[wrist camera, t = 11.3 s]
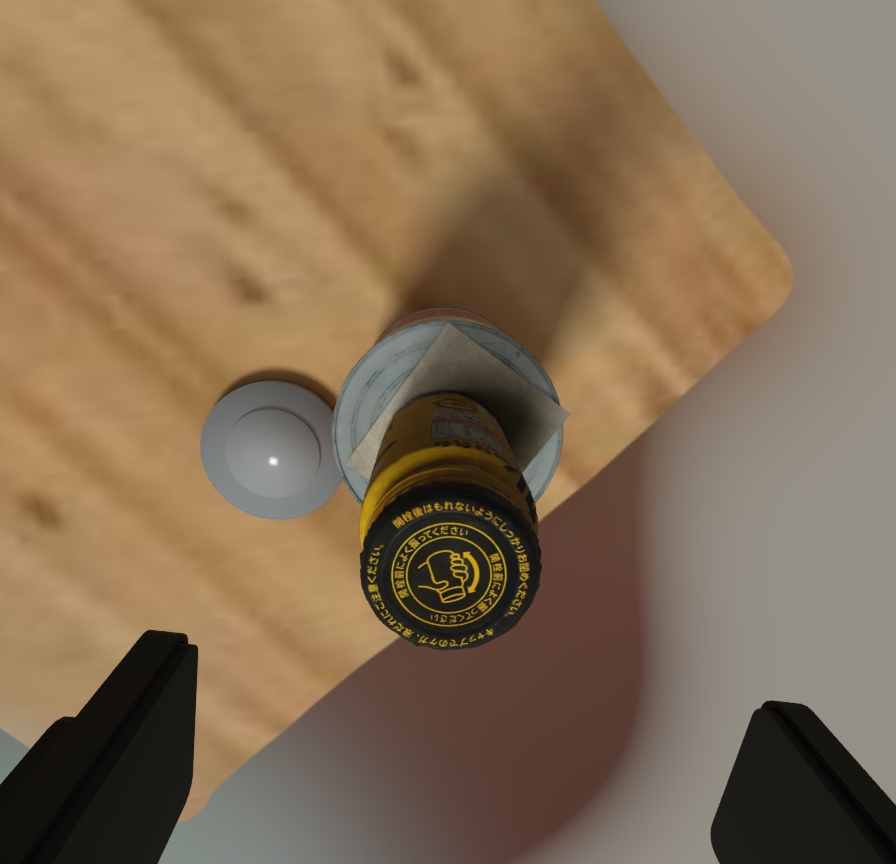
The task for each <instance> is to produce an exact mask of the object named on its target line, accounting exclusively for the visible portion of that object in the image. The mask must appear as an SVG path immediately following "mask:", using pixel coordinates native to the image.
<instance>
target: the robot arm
mask: <svg viewBox="0 0 896 864" xmlns="http://www.w3.org/2000/svg"><path fill="white" fill-rule="evenodd" d="M197 667H198V647H197V645H192V644H188V638H187V635H186V634H183V633H174V632H165V631H157V630H148V631H146V632H145V633H144V634H143V635H142V636H141V637H140V638H139V639H138V641H137V642H136V643H135V644H134V646H133V647H132V648H131V649H130V651H129V652H128V653H127V654H126V656H125V657H124V658H123V659H122V660H121V662H120V663H119V664H118V665H117V667H116V668H115V669H114V670H113V672H112V673H111V674H110V675H109V677H108V678H107V679H106V680H105V682H104V683H103V684H102V685H101V686H100V688H99V689H98V690H97V691H96V693H95V694H94V695H93V696H92V698H91V699H90V700H89V701H88V703H87V704H86V705H85V706H84V707H83V709H82V710H81V711H80V712H79V714H78V715H77V716H76V717H65V716H64V717H62V718H61V719H59V720H57V721H56V722H54V723H53V724H52V725H51V726H50V727H49V728H48V729H47V730H46V732H45V733H44V734H43V735H42V736H41V737H40V739H39V740H38V741H37V742H36V743H35V744H34V746H33V747H32V748H31V749H30V750H29V752H28V753H27V754H26V755H25V756H24V758H23V759H22V760H21V761H20V762H19V763H18V765H17V766H16V767H15V768H14V769H13V770H12V772H11V773H10V774H9V775H8V776H7V777H6V779H5V780H4V781H3V782H2V783H1V784H0V864H158V862H159V859H160V857H161V855H162V853H163V851H164V849H165V847H166V844H167V842H168V840H169V838H170V836H171V833H172V831H173V829H174V827H175V825H176V823H177V821H178V819H179V817H180V814H181V812H182V810H183V808H184V806H185V803H186V801H187V798H188V795H189V792H190V788H191V784H192V778H193V759H194V736H195V713H196V690H197ZM711 843H712V847H713V850H714V852H715V855H716V857H717V859H718V861H719V863H720V864H896V805H895V804H894V803H893V802H892V801H891V799H890V798H889V797H888V796H887V795H886V794H885V793H884V791H882V789H881V788H880V787H879V786H878V785H877V784H876V782H875V781H874V780H873V779H872V778H871V777H870V776H869V775H868V773H867V772H866V771H865V770H864V769H863V768H862V767H861V765H860V764H859V763H858V762H857V761H856V760H855V759H854V758H853V756H852V755H851V754H850V753H849V752H848V751H847V750H846V748H845V747H844V746H843V745H842V744H841V743H840V742H839V741H838V739H837V738H836V737H835V736H834V735H833V734H832V733H831V732H830V730H829V729H828V728H827V727H826V726H825V725H824V724H823V722H822V721H821V720H820V719H819V718H818V717H817V716H816V715H815V713H814V712H813V711H812V710H811V709H810V708H808V707H807V706H805V705H802V704H798V703H789V702H781V701H767V702H765V703H764V704H763V705H762V707H761V708H760V709H757V710H755V711H754V713H753V715H752V717H751V720H750V723H749V726H748V728H747V731H746V734H745V737H744V739H743V742H742V745H741V747H740V750H739V753H738V755H737V758H736V761H735V763H734V766H733V769H732V772H731V774H730V777H729V780H728V782H727V785H726V788H725V791H724V793H723V796H722V799H721V801H720V804H719V807H718V810H717V812H716V815H715V818H714V820H713V823H712V826H711Z"/></svg>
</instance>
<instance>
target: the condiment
mask: <svg viewBox="0 0 896 864" xmlns="http://www.w3.org/2000/svg"><path fill="white" fill-rule="evenodd" d="M569 415H570V413H568V412H567V411H566V410H564V409H563V408H562V407H560V406H559V405H557V404H556V403H555V402H554V401H553V400H551V399H550V398H549V397H547V396H546V395H545V394H543V393H542V392H541V391H539V390H538V389H537V388H535V387H534V386H532V385H531V384H530V383H529V382H528V381H526V380H525V379H523V378H522V377H520V376H519V375H518V374H517V373H515V372H514V371H513V370H511V369H510V368H509V367H507V366H506V365H505V364H503V363H502V362H501V361H500V360H498V359H497V358H495V357H494V356H493V355H491V354H490V353H489V352H487V351H486V350H485V349H483V348H482V347H481V346H479V345H478V344H477V343H475V342H474V341H473V340H471V339H470V338H469V337H467V336H466V335H465V334H463V333H462V332H461V331H459V330H458V329H457V328H455V327H454V326H453V325H451V324H450V323H449V322H448V323H447V324H446V326H445V327H444V329H443V330H442V331H441V333H440V334H439V336H438V337H437V338H436V340H435V341H434V342H433V344H432V345H431V346H430V348H429V349H428V351H427V352H426V353H425V355H424V356H423V358H422V359H421V360H420V362H419V363H418V365H417V366H416V367H415V369H414V370H413V371H412V373H411V374H410V375H409V377H408V378H407V379H406V381H405V382H404V384H403V385H402V386H401V388H400V389H399V390H398V392H397V393H396V394H395V396H394V397H393V399H392V400H391V401H390V403H389V404H388V405H387V407H386V408H385V410H384V411H383V412H382V414H381V415H380V417H379V418H378V419H377V421H376V422H375V423H374V425H373V426H372V427H371V429H370V430H369V432H368V433H367V434H366V436H365V437H364V439H363V440H362V441H361V443H360V444H359V445H358V447H357V448H356V450H355V451H354V452H353V454H352V455H351V456H350V458H349V459H348V461H347V462H346V464H345V465H347V466H348V467H350V468H352V469H353V470H354V471H356V472H358V473H359V474H361V475H362V476H363V477H365V478H367V479H369V480H370V481H369V485H368V486H367V488H366V492H365V495H364V500H363V502H362V508H361V515H360V521H359V531H360V538H361V544H362V550H363V551H362V552H361V553H360V564H361V569H360V573H361V574H360V578H361V585H362V589H363V591H364V594H365V597H366V599H367V601H368V602H369V604H370V606H371V608H372V610H373V611H374V613H375V615H376V616H377V617H378V618H379V620H380V621H381V622H382V623H383V624H385V625H386V626H387V627H388V628H389V629H391V630H392V631H394V632H396V633H397V634H398V635H400V636H401V637H402V638H404V639H405V640H407V641H409V642H412V643H413V644H414V645H416V646H426V647H429V648H432V649H437V650H456V649H463V648H475V647H478V646H480V645H482V644H484V643H487V642H489V641H491V640H493V639H495V638H497V637H498V636H500V635H503V634H505V633H506V632H508V631H509V630H510V629H512V628H513V627H514V626H515V625H516V624H517V623H518V621H519V620H520V618H521V617H522V616H523V615H524V614H525V612H526V611H527V610H528V608H529V607H530V605H531V604H532V602H533V599H534V597H535V595H536V592H537V590H538V588H539V586H540V584H539V581H540V573H541V570H542V564H541V563H540V559H541V549H540V547H539V545H538V542H539V540H538V538H537V532H538V517H537V513H536V506H535V501H534V499H533V497H532V494H531V491H530V489H529V486H528V485H527V483H526V480H525V479H524V476H523V474H522V473H523V472H524V470H525V469H526V468H527V467H528V465H529V464H530V463H531V461H532V460H533V459H534V458H535V457H536V455H537V454H538V453H539V451H540V450H541V449H542V448H543V447H544V445H545V444H546V443H547V442H548V440H549V439H550V438H551V437H552V436H553V435H554V434H555V433H556V432H557V430H558V429H559V428H560V427H561V425H562V424H563V423H564V422H565V420H566V419H567V418H568V417H569Z"/></svg>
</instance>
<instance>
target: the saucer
mask: <svg viewBox="0 0 896 864" xmlns="http://www.w3.org/2000/svg"><path fill="white" fill-rule="evenodd" d="M333 414H334V410H333V408H332V407H331V406H330V405H329V404H328V403H327V402H326V401H325V400H324V399H323V398H321V397H320V396H319V395H318V394H316V393H314V392H313V391H311V390H310V389H308V388H306V387H304V386H301V385H298V384H296V383H293V382H288V381H283V380H262V381H256V382H252V383H249V384H246V385H244V386H242V387H240V388H238V389H236V390H234V391H232V392H231V393H229V394H228V395H226V396H225V397H224V398H223V399H221V400H220V401H219V402H218V403H217V404H216V405H215V407H214V408H213V409H212V410H211V412H210V414H209V415H208V417H207V419H206V422H205V424H204V427H203V430H202V434H201V443H200V445H201V457H202V462H203V465H204V469H205V471H206V473H207V476H208V478H209V480H210V481H211V483H212V484H213V486H214V487H215V489H216V490H217V491H218V492H219V493H220V494H221V495H222V496H223V497H224V498H225V499H226V500H227V501H228V502H229V503H231V504H232V505H233V506H235V507H237V508H238V509H240V510H242V511H244V512H246V513H248V514H250V515H254V516H257V517H260V518H265V519H274V520H284V519H292V518H297V517H300V516H304V515H306V514H308V513H311V512H313V511H314V510H316V509H318V508H319V507H321V506H322V505H323V504H324V503H326V502H327V501H328V500H329V499H330V498H331V497H332V495H333V494H334V493H335V491H336V490H337V488H338V486H339V484H340V482H341V480H342V477H341V474H340V472H339V469H338V466H337V464H336V460H335V456H334V451H333V444H332V420H333Z"/></svg>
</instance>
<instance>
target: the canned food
mask: <svg viewBox="0 0 896 864" xmlns="http://www.w3.org/2000/svg"><path fill="white" fill-rule="evenodd" d="M448 322H449V323H450V324H451V325H453V326H454V327H455V328H457V329H458V330H459V331H461V332H462V333H463V334H465V335H466V336H467V337H469V338H470V339H471V340H473V341H474V342H475V343H477V344H478V345H479V346H481V347H482V348H483V349H485V350H486V351H487V352H489V353H490V354H491V355H493V356H494V357H495V358H497V359H498V360H500V361H501V362H502V363H503V364H505V365H506V366H507V367H509V368H510V369H511V370H513V371H514V372H515V373H517V374H518V375H519V376H520V377H522V378H523V379H525V380H526V381H528V382H529V383H530V384H531V385H532V386H534V387H535V388H537V389H538V390H539V391H541V392H542V393H543V394H545V395H546V396H547V397H549V398H550V399H551V400H553V401H554V402H555V403H556V404H557V405H559V406H560V403H559V399H558V396H557V393H556V391H555V388H554V386H553V384H552V382H551V380H550V378H549V376H548V375H547V373H546V371H545V370H544V369H543V367H542V366H541V365H540V363H539V362H538V361H537V360H536V358H535V357H534V356H533V355H532V354H531V353H530V352H529V351H528V350H527V349H525V348H524V347H523V346H522V345H521V344H519V343H518V342H516V341H515V340H514V339H512V338H511V337H509V336H507V335H505V334H504V333H502V332H501V331H500V330H499V329H498V328H496V327H495V326H494V325H493V324H491V323H490V322H489V321H487V320H486V319H484V318H482V317H480V316H478V315H476V314H474V313H471V312H468V311H465V310H461V309H456V308H441V307H440V308H430V309H425V310H421V311H418V312H415V313H412V314H410V315H408V316H406V317H404V318H402V319H400V320H399V321H397V322H396V323H394V324H393V325H392V326H391V327H389V328H388V329H387V330H386V331H385V332H384V333H383V334H382V335H381V336H380V338H379V339H378V340H377V341H376V343H375V345H374V346H373V347H372V348H371V349H370V350H368V352H367V353H366V354H365V355H364V356H363V357H362V358H361V359H360V360H359V361H358V362H357V364H356V365H355V366H354V367H353V369H352V370H351V372H350V373H349V375H348V376H347V378H346V380H345V382H344V384H343V386H342V388H341V390H340V393H339V395H338V398H337V401H336V405H335V409H334V414H333V420H332V444H333V451H334V456H335V460H336V464H337V466H338V469H339V472H340V474H341V477H342V479H343V481H344V483H345V485H346V486H347V488H348V489H349V491H350V493H351V494H352V495H353V497H354V498H355V499H356V501H357V502H358V503H359V504H360V505H361V506H362V502H363V500H364V495H365V492H366V488H367V486H368V485H369V481H370V480H369V479H367V478H365V477H363V476H362V475H361V474H359V473H358V472H356V471H354V470H353V469H352V468H350V467H348V466H347V465H345V464H346V462H347V461H348V459H349V458H350V456H351V455H352V454H353V452H354V451H355V450H356V448H357V447H358V445H359V444H360V443H361V441H362V440H363V439H364V437H365V436H366V434H367V433H368V432H369V430H370V429H371V427H372V426H373V425H374V423H375V422H376V421H377V419H378V418H379V417H380V415H381V414H382V412H383V411H384V410H385V408H386V407H387V405H388V404H389V403H390V401H391V400H392V399H393V397H394V396H395V394H396V393H397V392H398V390H399V389H400V388H401V386H402V385H403V384H404V382H405V381H406V379H407V378H408V377H409V375H410V374H411V373H412V371H413V370H414V369H415V367H416V366H417V365H418V363H419V362H420V360H421V359H422V358H423V356H424V355H425V353H426V352H427V351H428V349H429V348H430V346H431V345H432V344H433V342H434V341H435V340H436V338H437V337H438V336H439V334H440V333H441V331H442V330H443V329H444V327H445V326H446V324H447V323H448ZM562 442H563V424H562V425H561V427H560V428H559V429H558V430H557V432H556V433H555V434H554V435H553V436H552V437H551V438H550V439H549V440H548V442H547V443H546V444H545V445H544V447H543V448H542V449H541V450H540V451H539V453H538V454H537V455H536V457H535V458H534V459H533V460H532V461H531V463H530V464H529V465H528V467H527V468H526V469H525V470H524V472H523V473H522V474H523V476H524V479H525V480H526V483H527V485H528V486H529V489H530V491H531V494H532V497H533V499H534V501H535V503H536V502H537V500H538V499H539V498H540V497H541V495H542V494H543V493H544V491H545V489H546V488H547V486H548V485H549V483H550V481H551V479H552V477H553V475H554V473H555V470H556V467H557V465H558V461H559V458H560V454H561V449H562Z"/></svg>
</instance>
